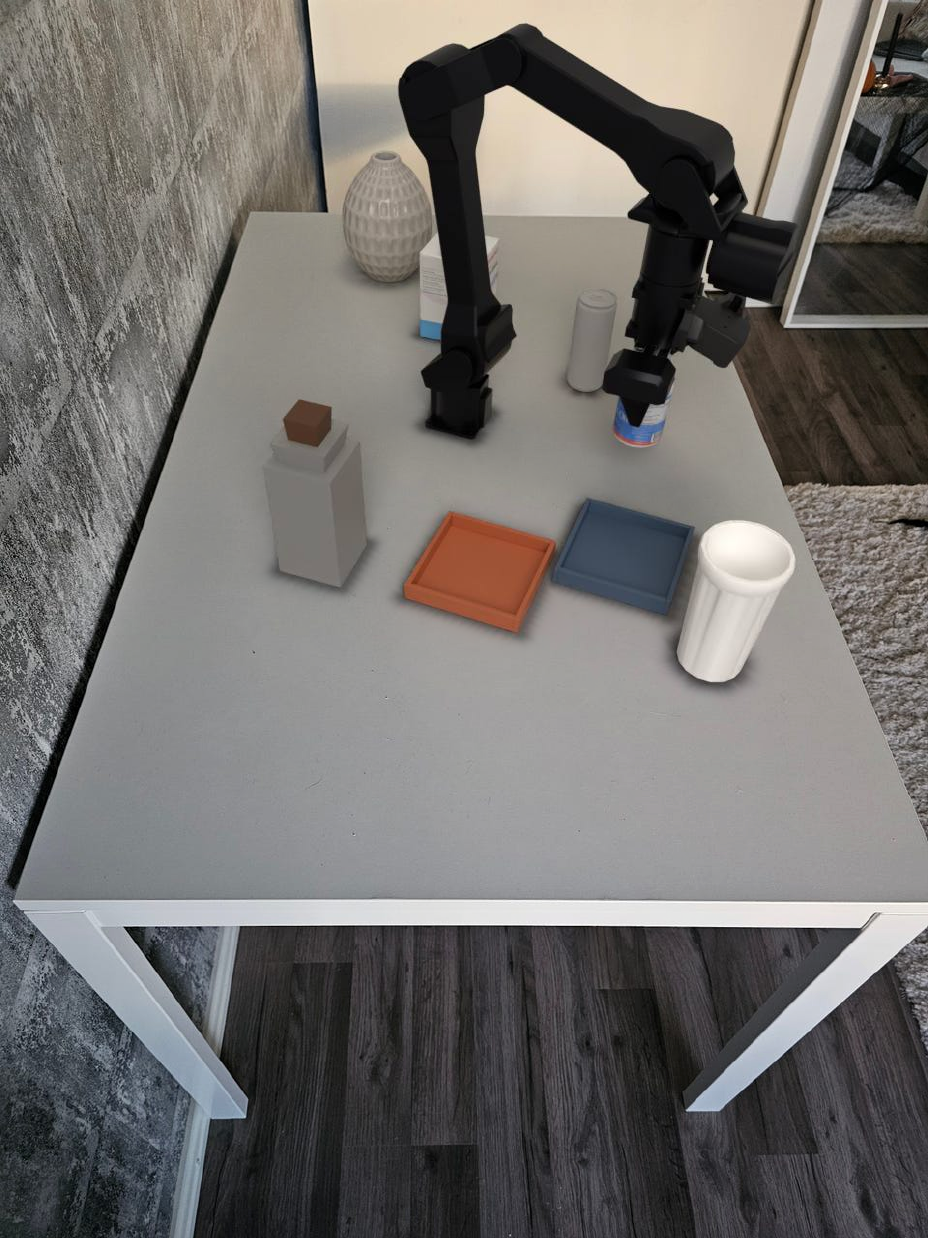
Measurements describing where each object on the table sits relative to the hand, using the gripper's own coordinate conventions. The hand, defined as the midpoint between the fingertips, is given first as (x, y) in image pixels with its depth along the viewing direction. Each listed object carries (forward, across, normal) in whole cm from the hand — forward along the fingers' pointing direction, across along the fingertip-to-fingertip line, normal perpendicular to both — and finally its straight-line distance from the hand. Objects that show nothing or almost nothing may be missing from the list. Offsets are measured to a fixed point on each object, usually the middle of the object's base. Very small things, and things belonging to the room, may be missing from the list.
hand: (641, 411), depth 97 cm
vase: (+10, +33, +45) cm, 57 cm away
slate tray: (+10, -13, -3) cm, 16 cm away
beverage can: (+10, +17, +10) cm, 22 cm away
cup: (+10, -23, -14) cm, 29 cm away
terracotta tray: (+10, -21, +10) cm, 25 cm away
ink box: (+10, +23, +30) cm, 39 cm away
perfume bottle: (+10, -25, +26) cm, 37 cm away
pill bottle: (+3, 0, 0) cm, 3 cm away
